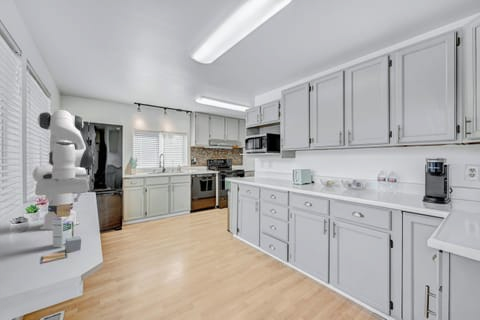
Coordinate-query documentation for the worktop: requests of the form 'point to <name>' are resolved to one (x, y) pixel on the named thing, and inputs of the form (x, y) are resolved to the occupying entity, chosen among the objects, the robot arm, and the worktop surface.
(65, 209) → the oak cube
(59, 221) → the syrup box
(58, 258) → the tile
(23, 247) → the worktop surface
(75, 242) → the slate cube
